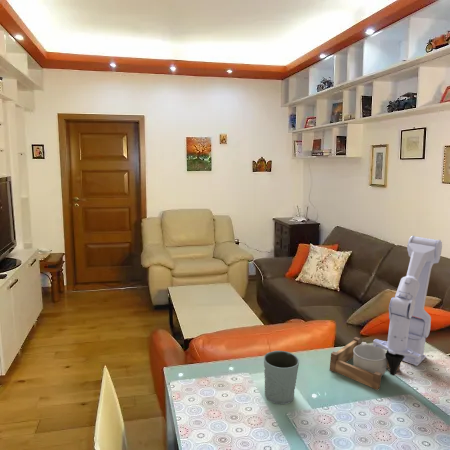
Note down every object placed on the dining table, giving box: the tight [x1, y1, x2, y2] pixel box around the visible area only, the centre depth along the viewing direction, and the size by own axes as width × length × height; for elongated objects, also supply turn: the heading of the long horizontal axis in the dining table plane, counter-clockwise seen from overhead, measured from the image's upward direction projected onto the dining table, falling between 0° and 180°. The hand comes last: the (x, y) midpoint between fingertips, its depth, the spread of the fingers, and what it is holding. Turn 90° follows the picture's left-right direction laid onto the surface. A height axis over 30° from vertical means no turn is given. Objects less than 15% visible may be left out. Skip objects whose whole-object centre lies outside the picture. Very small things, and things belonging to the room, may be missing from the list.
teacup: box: [352, 341, 388, 376], centre depth 142 cm, size 14×11×8 cm
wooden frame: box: [329, 336, 401, 391], centre depth 143 cm, size 18×16×6 cm
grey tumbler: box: [263, 350, 300, 405], centre depth 125 cm, size 10×10×12 cm
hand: (393, 374), depth 137 cm, fingers closed
